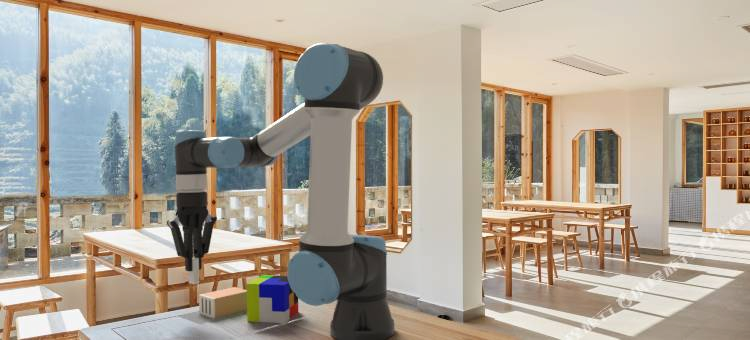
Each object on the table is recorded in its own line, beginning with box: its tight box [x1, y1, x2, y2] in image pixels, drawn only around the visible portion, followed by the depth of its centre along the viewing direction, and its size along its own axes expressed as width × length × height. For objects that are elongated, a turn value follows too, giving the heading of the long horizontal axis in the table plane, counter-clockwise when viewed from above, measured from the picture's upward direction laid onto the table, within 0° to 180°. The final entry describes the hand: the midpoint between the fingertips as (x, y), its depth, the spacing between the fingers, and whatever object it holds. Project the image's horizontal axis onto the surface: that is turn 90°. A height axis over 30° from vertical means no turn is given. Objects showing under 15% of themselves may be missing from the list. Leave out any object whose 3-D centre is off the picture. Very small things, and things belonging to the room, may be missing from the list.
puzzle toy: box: [246, 274, 299, 326], centre depth 143 cm, size 10×10×10 cm
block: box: [198, 286, 247, 318], centre depth 149 cm, size 7×5×11 cm
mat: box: [177, 310, 247, 325], centre depth 147 cm, size 11×16×1 cm
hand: (193, 283), depth 142 cm, fingers closed
